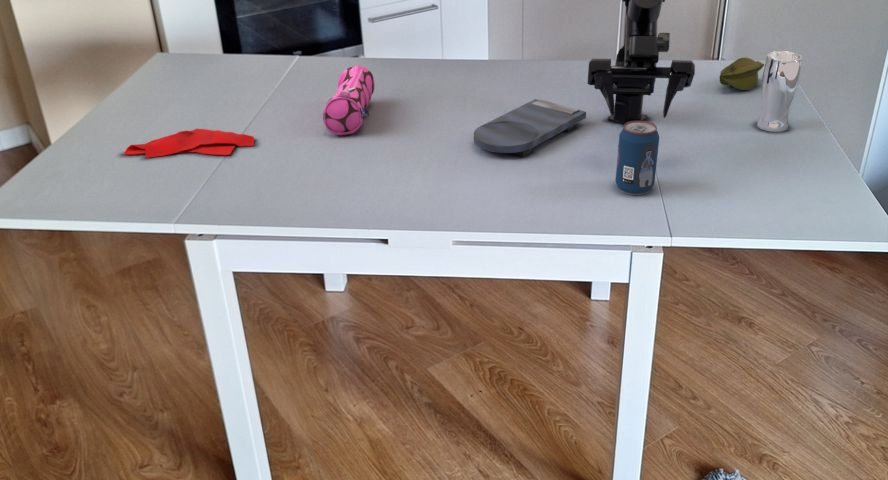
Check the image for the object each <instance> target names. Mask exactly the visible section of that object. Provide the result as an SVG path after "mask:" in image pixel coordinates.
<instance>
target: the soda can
mask: <svg viewBox="0 0 888 480" xmlns="http://www.w3.org/2000/svg"><path fill="white" fill-rule="evenodd" d="M659 143H660V134H659V132H658V127H657V125H656V124H655V123H653V122H650V121H646V120H644V121H630V122H627V123H625V124H623V128H622V130H621V131H620V133H619V135H618V147H617V157H616V158H617V159H616V170H615V184H616V186H617V188H618V190H619V191H620V192H621V193H623V194H626V195H631V196H642V195H645V194H648V193H649V192H650V191H651V190H652V189H653V187H655V184H656V183H655V182H656V172H657V162H658V153H659V145H660V144H659Z"/></svg>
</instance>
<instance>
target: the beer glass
mask: <svg viewBox="0 0 888 480" xmlns="http://www.w3.org/2000/svg"><path fill="white" fill-rule="evenodd" d="M802 60H803V55H801V54H799V53H797V52H793V51H788V50H787V51H786V50H784V51H783V50H774V51H771V52H769V53H767V55H766V60H765V64H764V67H763V74H762V80H761V110H760V114H759V117H758V120H757V122H756V126H757V128H758V129H760V130H762V131H765V132H769V133H781V132H785V131H787V130H788V129H789V112H790V108H791V105H792V103H793V99H794V98H795V95H796V91H797V89H798V86H799V81H800V77H801V70H802V62H803V61H802Z"/></svg>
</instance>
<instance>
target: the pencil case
mask: <svg viewBox="0 0 888 480" xmlns="http://www.w3.org/2000/svg"><path fill="white" fill-rule="evenodd" d="M374 91H375V77H374V75H373V73H372V72H371V71H370V69H368V68H367V67H366V66H361V65H359V64H357V65H353V66H350V67H347V68H345V69H344V70H343V71H342V72H341V74H339V78H338V81H337V90H336V93H335V95H334V96H331V98H330V99H328V101H327V102H326V103H325V106H324V108H323V113H322V121H323V124H324V126H325V128H326V129H327V131H328V132H330V133H331V134H333V135H335V136H348V135H352V134H354V133H356V132H358V131H359V130H360V129H361V127H362V125H363V123H364V117H366V116H370V111H369V109H368V108H369V105H370V101H371V99H372V96H373V94H374Z"/></svg>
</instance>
